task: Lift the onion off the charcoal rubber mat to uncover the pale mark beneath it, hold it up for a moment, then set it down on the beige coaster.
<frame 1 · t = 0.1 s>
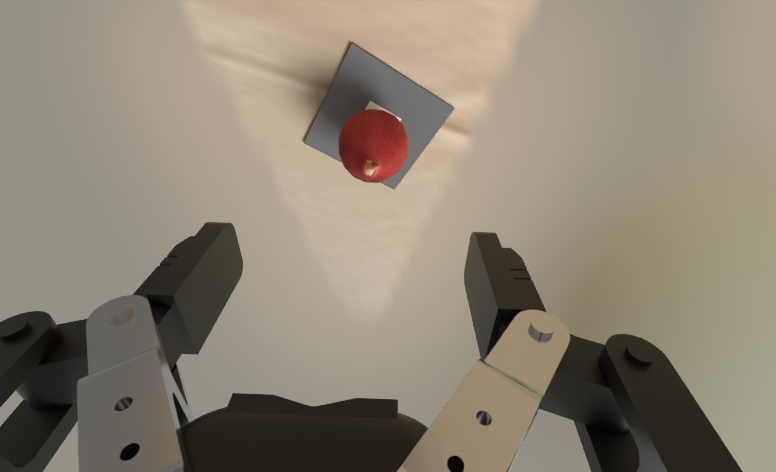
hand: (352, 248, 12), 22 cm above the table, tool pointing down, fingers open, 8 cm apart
code mat: (376, 125, 33), on the table
onion: (376, 125, 33), resting on code mat
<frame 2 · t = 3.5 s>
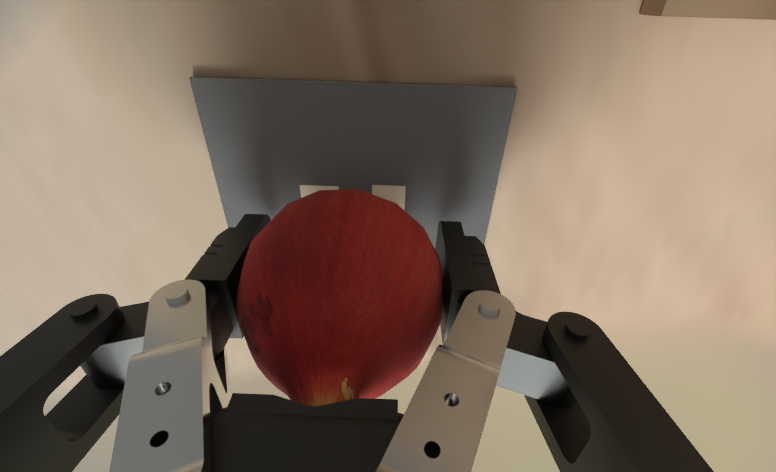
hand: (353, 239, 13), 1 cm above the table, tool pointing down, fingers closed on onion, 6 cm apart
code mat: (356, 219, 14), on the table
onion: (356, 220, 14), resting on code mat, touching gripper
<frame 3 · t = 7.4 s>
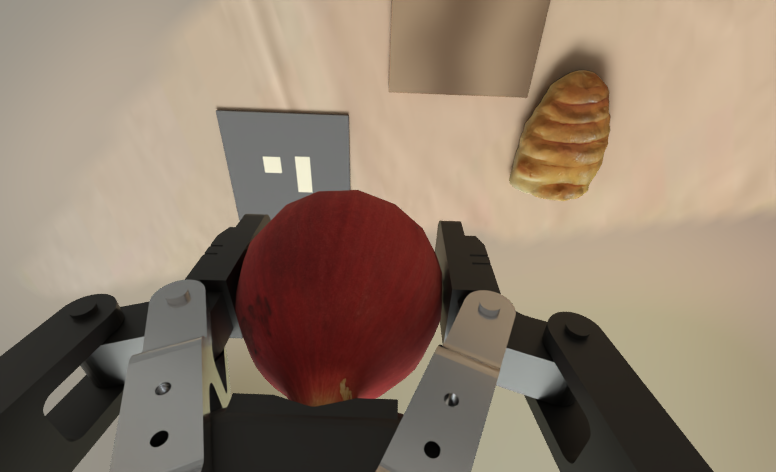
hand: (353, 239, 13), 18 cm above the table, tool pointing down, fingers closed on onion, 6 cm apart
code mat: (290, 173, 31), on the table
onion: (356, 220, 14), point 16 cm above the table, touching gripper
beige coaster: (466, 12, 24), on the table
pastry: (551, 139, 30), on the table
when the fingers open (4 cm above the table, at t = 11.6 s): onion drops 1 cm, resting on beige coaster.
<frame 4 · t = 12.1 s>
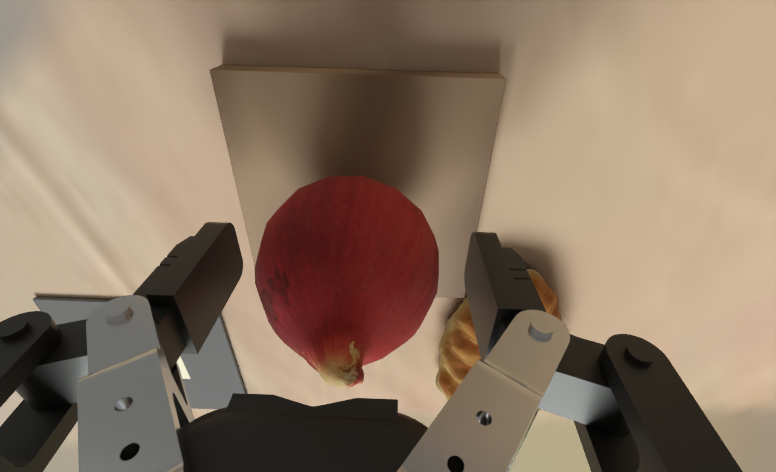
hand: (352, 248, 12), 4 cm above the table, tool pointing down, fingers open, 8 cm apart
code mat: (156, 359, 23), on the table
onion: (360, 201, 15), point 1 cm above the table, touching beige coaster
beige coaster: (362, 193, 16), on the table
pastry: (490, 330, 21), on the table
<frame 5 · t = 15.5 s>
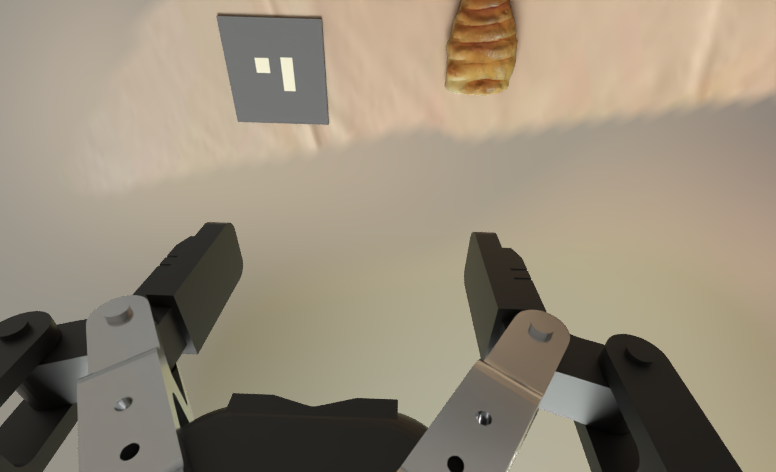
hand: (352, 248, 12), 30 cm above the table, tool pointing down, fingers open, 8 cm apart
code mat: (277, 73, 38), on the table
pastry: (476, 48, 36), on the table
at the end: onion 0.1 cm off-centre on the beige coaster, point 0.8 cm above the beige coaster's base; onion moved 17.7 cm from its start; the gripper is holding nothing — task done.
